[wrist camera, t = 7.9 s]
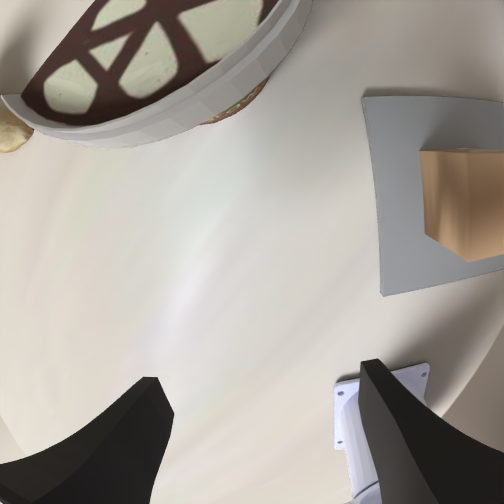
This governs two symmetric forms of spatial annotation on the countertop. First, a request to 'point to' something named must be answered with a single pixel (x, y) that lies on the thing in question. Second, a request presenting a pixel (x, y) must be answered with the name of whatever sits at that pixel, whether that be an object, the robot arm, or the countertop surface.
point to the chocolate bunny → (12, 130)
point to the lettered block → (464, 200)
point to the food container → (157, 68)
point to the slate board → (410, 182)
